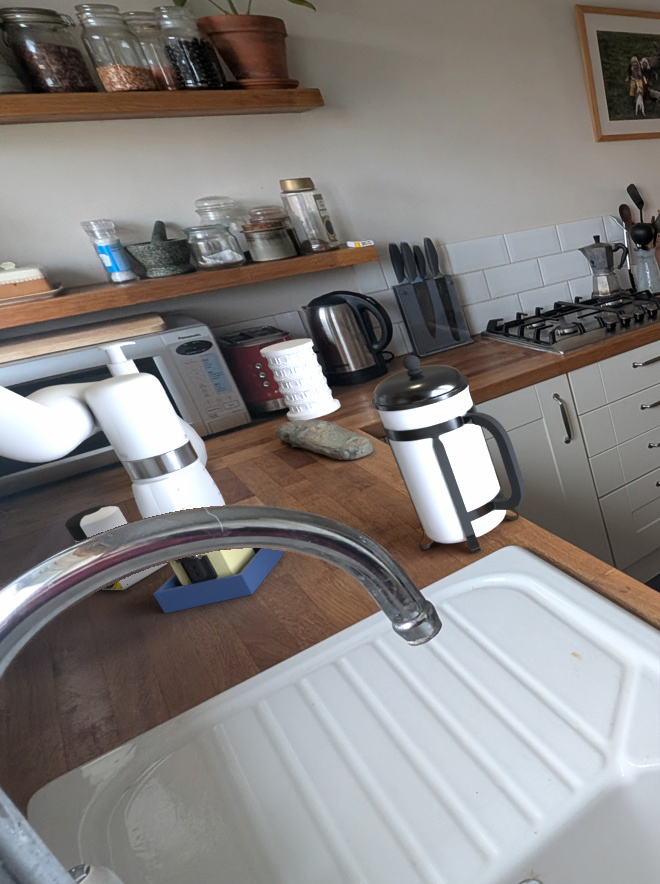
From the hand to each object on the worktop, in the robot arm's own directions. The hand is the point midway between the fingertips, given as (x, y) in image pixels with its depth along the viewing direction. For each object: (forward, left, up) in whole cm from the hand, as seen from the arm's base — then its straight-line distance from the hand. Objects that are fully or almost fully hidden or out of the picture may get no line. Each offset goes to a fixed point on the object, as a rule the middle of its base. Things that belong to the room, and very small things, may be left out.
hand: (218, 566), depth 102 cm
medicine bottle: (-18, +9, -3) cm, 20 cm away
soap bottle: (-32, +52, -3) cm, 61 cm away
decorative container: (-17, +83, -3) cm, 85 cm away
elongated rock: (-5, +55, -3) cm, 55 cm away
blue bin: (0, 0, -3) cm, 3 cm away
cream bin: (0, 0, -1) cm, 1 cm away
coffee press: (+37, -2, -3) cm, 37 cm away
